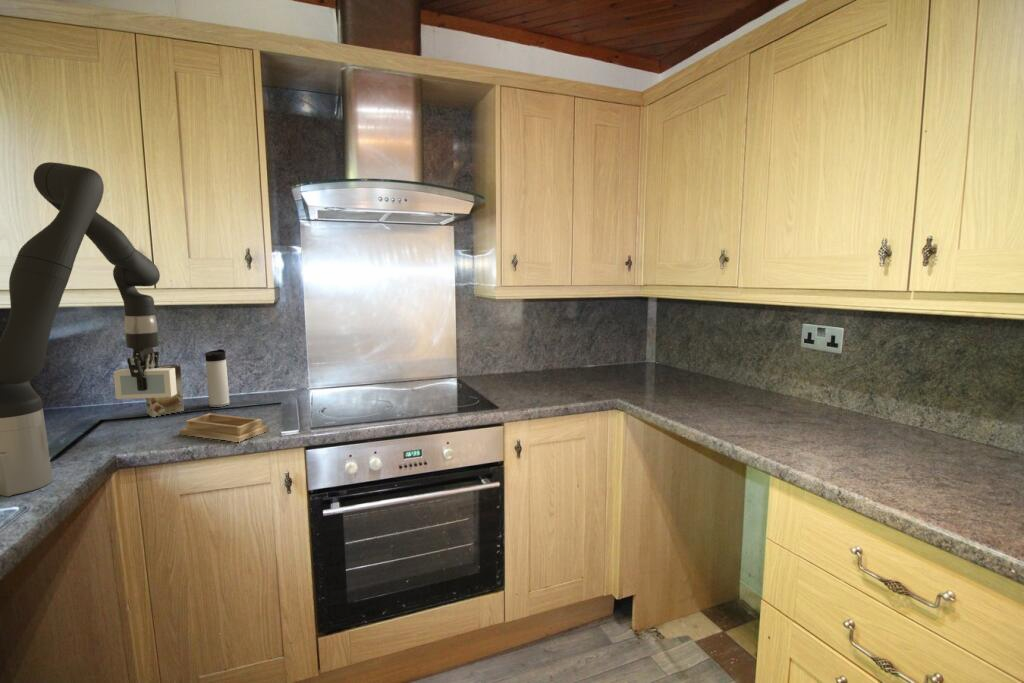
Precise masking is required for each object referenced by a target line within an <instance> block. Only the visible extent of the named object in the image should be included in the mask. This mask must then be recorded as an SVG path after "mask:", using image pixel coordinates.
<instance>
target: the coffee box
mask: <svg viewBox="0 0 1024 683" xmlns="http://www.w3.org/2000/svg"><path fill="white" fill-rule="evenodd" d="M154 367H155V366H154ZM158 368H175V375H176V389H177V394H176V395H174V396H172V397H157V398H145V401H146V412H147V415H148V414H149V417H152V418H156V416H158V417H162V416H161V415H164V416H167V415H166V414H169V415H172V414H171V413H175V414H177V413H176V412H180V413H182V412H181V411H184V412H185V408H184V407H185V406H184V395H183V385H182V384H183V382H182V371H181V370H182V368H181V365H178V364H173V363H172V364H165V365H158Z"/></svg>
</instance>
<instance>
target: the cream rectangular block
mask: <svg viewBox="0 0 1024 683" xmlns="http://www.w3.org/2000/svg"><path fill="white" fill-rule="evenodd" d="M134 372H135V370H134ZM142 372H143V370H142ZM146 379H147V390H145V391H138V389H137V378H135V377H132V376H131V373H130V369H129V368H128V369H127V368H122V369H118V370H115V371H113V382H114V389H115V390H114V391H115V400H124V399H125V400H126V399H127V400H129V399H146V398H157V397H172V396H174V395H176V394H177V389H176V375H175V368H153V369H148V370H147V371H146Z"/></svg>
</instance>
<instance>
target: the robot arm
mask: <svg viewBox="0 0 1024 683" xmlns="http://www.w3.org/2000/svg"><path fill="white" fill-rule="evenodd" d="M33 183H34V187H35V189H37V191H38V193H39V194H40V195H41V196H42V197H43V198H44V199H45V201H47V202H48V203H49V204H51V205H52V206H53V207H54V208H55V209H56V210H58V212H57V214H56V216H55V218H53V220H52V221H51V222H50V223H48V225H46V226H45V227H44V228H43V229H41V230H40V231H39V232H37V233H36V234H35V235H34V236H31V238H30V239H28V240H27V241H26V242H25V243H24V245H22V247H21V248H20V249H19V251H18V253H17V255H16V258H15V261H14V263H13V266H12V268H11V271H10V275H9V280H8V281H9V282H8V286H9V287H8V288H9V290H8V291H9V292H8V293H9V302H10V311H9V312H10V313H9V317H8V321H7V323H6V326H5V327H4V331H3V333H2V335H1V337H0V496H3V497H11V496H13V495H17V494H23V493H27V492H31V491H35V490H38V489H40V488H43V487H46V486H48V485H50V483H52V482H53V471H52V465H51V458H50V451H49V443H48V442H49V441H48V437H47V431H46V430H47V428H46V422H45V416H44V408H43V406H44V405H43V401H42V398H41V396H40V395H39V394H38V393H37V392H36V391H35V390H34V388H33V387H32V385H31V382H30V381H31V380H32V379H34V378H35V377H36V376H38V374H39V373H40V372H41V370H42V368H43V366H44V363H45V360H46V357H47V356H46V355H47V350H48V345H49V342H50V341H49V340H50V336H51V331H52V326H53V323H54V320H55V317H56V315H57V312H58V309H59V307H60V304H61V301H62V298H63V295H64V292H65V291H66V288H67V286H68V282H69V279H70V278H71V277H70V276H71V274H72V271H73V268H74V264H75V261H76V258H77V255H78V253H79V250H80V247H81V245H82V242H83V241H84V237H85V236H86V237H87V238H88V239H89V240H90V241H91V242H92V243H93V244H94V245H95V246H96V248H97V250H99V252H100V253H101V254H102V255H103V256H104V258H106V260H107V262H109V263H110V264H111V265H113V266H114V268H113V270H112V275H113V276H112V277H113V280H114V282H115V284H116V287H117V289H118V291H119V294H120V297H121V298H122V301H123V309H124V332H125V334H124V335H125V344H126V348H128V349H131V350H132V357H128V358H126V361H127V365H128V369H130V373H131V376H132V377H135V378H137V389H138V391H145V390H147V379H146V371H147V370H148V369H153V368H158V366H159V358H160V352H159V351H155V350H154V348H156V347H158V346H159V332H158V322H157V318H156V310H155V309H156V308H155V300H154V297H153V296H151V295H149V294H143V293H141V292H139V291H138V290H137V288H136V287H153V286H156V284H158V283H159V281H160V277H161V274H160V271H159V268H158V267H157V265H156V263H154V262H153V261H152V260H151V259H150V258H148V257H147V256H146V255H144V254H143V253H142V252H141V251H139V249H136V248H135V246H134V245H133V244H132V242H131V240H130V239H129V238H128V236H126V234H125V233H124V232H123V231H122V230H121V229H120V228H119V227H118V226H116V225H115V224H114V223H112V222H111V221H109V219H107V218H105V217H104V216H103V215H101V214H100V213H99V212H97V211H98V208H99V207H100V205H101V203H102V199H103V196H104V188H105V187H104V185H105V184H104V181H103V179H102V176H101V175H100V174H99V173H98V171H96V170H94V169H92V168H89V167H86V166H80V165H79V166H78V165H72V164H67V163H61V162H53V161H52V162H48V161H47V162H43V163H41V164H39V165H38V166H37V167H36V168H35V170H34V172H33ZM154 366H155V367H154ZM134 370H135V372H134ZM142 370H143V372H142Z"/></svg>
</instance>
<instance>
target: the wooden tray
mask: <svg viewBox="0 0 1024 683" xmlns="http://www.w3.org/2000/svg"><path fill="white" fill-rule="evenodd" d="M262 423H263V421H262V419H261V418H252V417H243V416H236V415H235V416H234V415H226V414H219V413H218V414H217V413H209V412H208V413H207V414H203V415H200V416H197V417H193V418H190V419H188V420H185V426H186V427H184V428H182V429H179V435H180V434H181V435H180V436H183V435H188V436H187V437H190V436H197V437H205V438H214V439H224V440H232V441H236V442H239V443H238V444H241V443H240V441H242V440H245V439H247V438H251V437H253V438H255V437H254V436H256V435H258V436H260V435H262V434H261V433H263V434H265V433H268V432H269V431H270V428H269V426H268V425H263V424H262ZM267 431H268V432H267ZM264 432H265V433H264ZM259 434H260V435H259ZM197 437H196V438H197ZM256 437H257V436H256ZM205 438H204V439H205ZM251 439H252V438H251Z"/></svg>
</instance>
